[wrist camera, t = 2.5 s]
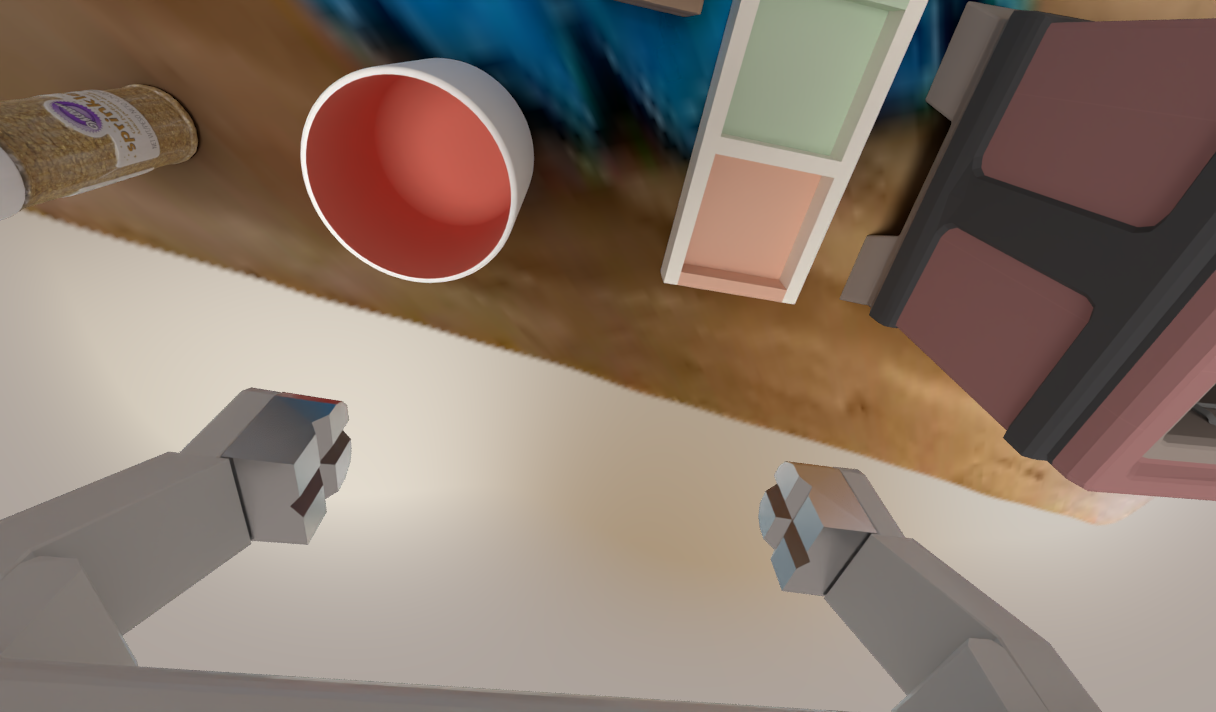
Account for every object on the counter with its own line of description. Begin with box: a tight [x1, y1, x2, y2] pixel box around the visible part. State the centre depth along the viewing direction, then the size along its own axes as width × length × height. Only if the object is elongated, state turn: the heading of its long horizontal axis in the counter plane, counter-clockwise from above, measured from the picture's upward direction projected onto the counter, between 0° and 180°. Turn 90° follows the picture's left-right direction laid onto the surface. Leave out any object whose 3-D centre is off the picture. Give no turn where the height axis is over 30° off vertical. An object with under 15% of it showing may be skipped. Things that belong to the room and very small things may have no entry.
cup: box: [301, 58, 534, 283], centre depth 28 cm, size 10×10×10 cm
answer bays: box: [660, 0, 928, 304], centre depth 32 cm, size 19×10×2 cm, turn 169°
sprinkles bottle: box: [0, 84, 198, 220], centre depth 25 cm, size 5×5×14 cm
